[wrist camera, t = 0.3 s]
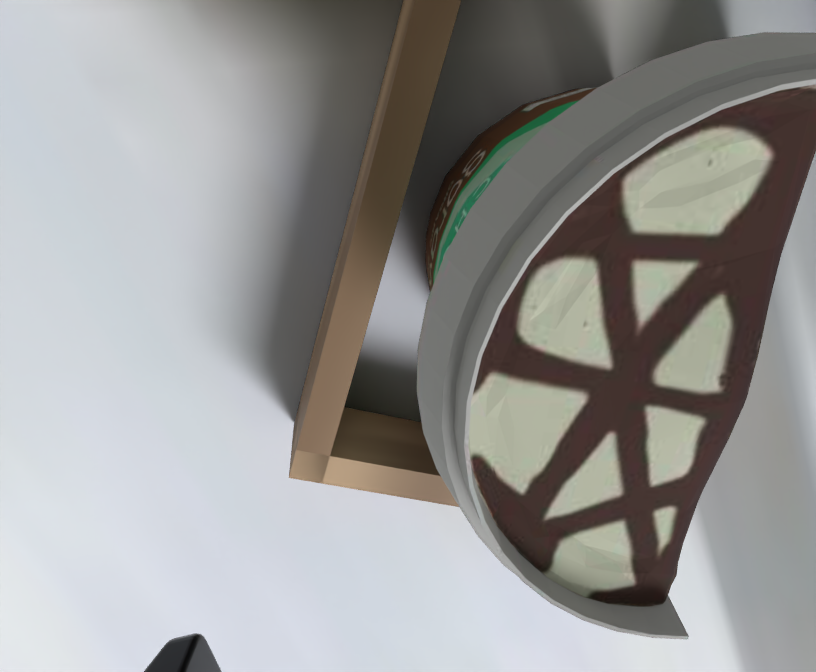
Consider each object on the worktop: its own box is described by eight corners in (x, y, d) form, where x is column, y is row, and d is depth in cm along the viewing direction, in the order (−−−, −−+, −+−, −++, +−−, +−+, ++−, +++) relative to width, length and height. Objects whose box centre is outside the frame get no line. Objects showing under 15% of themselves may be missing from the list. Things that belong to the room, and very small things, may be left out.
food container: (406, 7, 18) (484, -17, 9) (627, 31, 18) (910, 33, 9) (372, 410, 23) (398, 664, 14) (546, 415, 23) (681, 657, 14)
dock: (733, 61, 19) (800, 66, 16) (551, 472, 24) (578, 527, 22) (416, -50, 17) (432, -65, 14) (294, 423, 22) (288, 477, 20)
